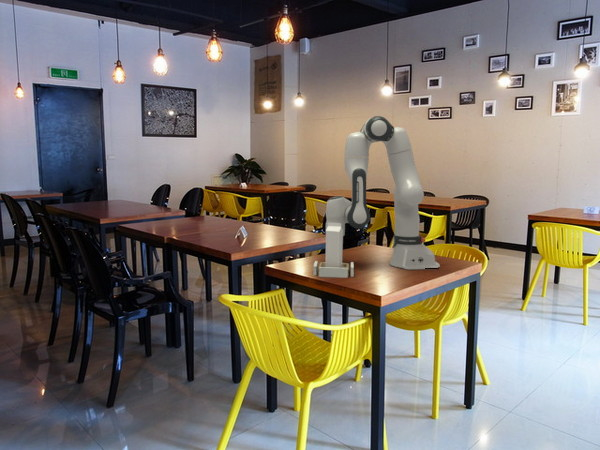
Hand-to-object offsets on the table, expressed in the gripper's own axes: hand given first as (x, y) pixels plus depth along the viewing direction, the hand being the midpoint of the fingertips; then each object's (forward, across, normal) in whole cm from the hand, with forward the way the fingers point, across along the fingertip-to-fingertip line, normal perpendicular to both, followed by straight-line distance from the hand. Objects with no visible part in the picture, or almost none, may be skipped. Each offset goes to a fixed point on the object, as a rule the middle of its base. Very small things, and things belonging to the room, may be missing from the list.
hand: (334, 260), depth 228 cm
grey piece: (+2, -16, 0) cm, 17 cm away
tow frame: (+2, -10, 0) cm, 10 cm away
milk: (+2, -16, 0) cm, 16 cm away
